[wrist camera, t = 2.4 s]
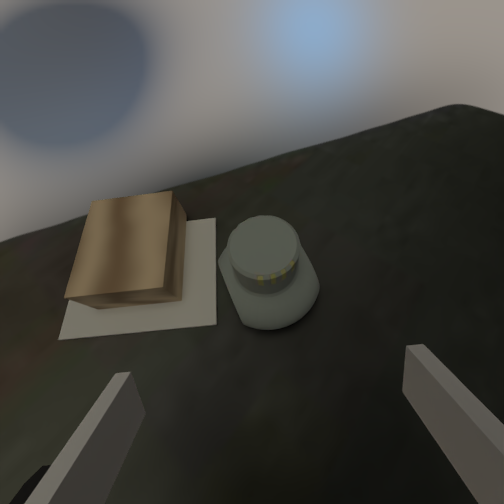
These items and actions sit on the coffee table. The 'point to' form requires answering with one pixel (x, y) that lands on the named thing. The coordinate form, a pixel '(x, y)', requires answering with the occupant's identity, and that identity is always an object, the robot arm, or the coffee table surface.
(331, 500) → the coffee table surface
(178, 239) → the base block
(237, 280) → the air freshener
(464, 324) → the coffee table surface
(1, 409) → the coffee table surface
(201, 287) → the mat
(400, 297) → the coffee table surface
